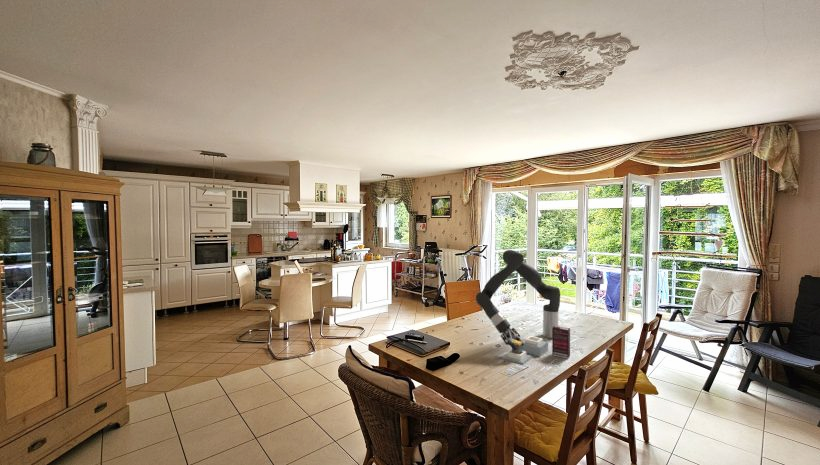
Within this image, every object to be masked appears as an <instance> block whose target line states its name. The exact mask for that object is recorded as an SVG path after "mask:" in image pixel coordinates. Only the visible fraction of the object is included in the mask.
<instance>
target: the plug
mask: <svg viewBox="0 0 820 465" xmlns="http://www.w3.org/2000/svg"><path fill="white" fill-rule="evenodd" d="M521 341H522V340H521ZM521 341H517V340H515V339H513V340H512V342H513V343H514V344H515V346H516V347H517V349H516V350H515V351H514V350H513V348H512V347H511V349H512V353H516V354H521V353H522V342H521Z"/></svg>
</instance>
